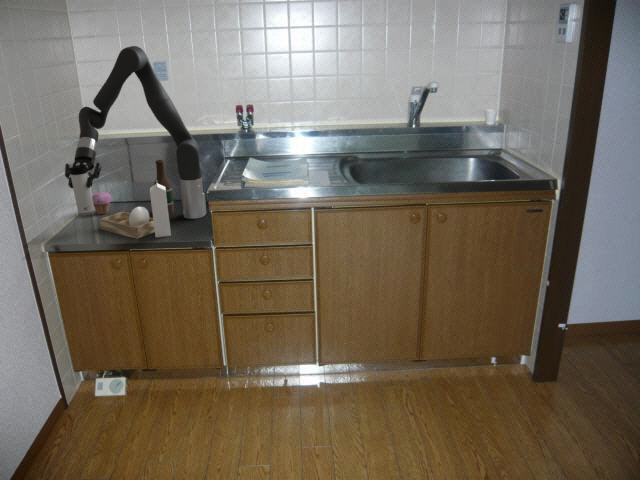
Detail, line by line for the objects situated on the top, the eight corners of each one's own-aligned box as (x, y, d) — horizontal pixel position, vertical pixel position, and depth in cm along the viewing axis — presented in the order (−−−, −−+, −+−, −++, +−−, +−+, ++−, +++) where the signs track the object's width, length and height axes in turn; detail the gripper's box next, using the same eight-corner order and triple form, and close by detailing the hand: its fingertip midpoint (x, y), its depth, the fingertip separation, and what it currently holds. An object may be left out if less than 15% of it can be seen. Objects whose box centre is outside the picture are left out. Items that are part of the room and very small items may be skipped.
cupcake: (95, 210, 251) (91, 189, 247) (114, 209, 252) (111, 188, 249) (91, 216, 243) (87, 195, 239) (111, 215, 244) (108, 193, 241)
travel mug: (89, 216, 217) (80, 166, 210) (75, 215, 218) (65, 166, 211) (98, 211, 223) (89, 163, 216) (84, 210, 224) (75, 162, 217)
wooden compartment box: (124, 221, 236) (123, 211, 235) (160, 229, 225) (158, 219, 224) (101, 229, 227) (99, 219, 225) (137, 238, 216) (135, 228, 214)
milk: (155, 237, 217) (148, 183, 209) (155, 232, 222) (148, 180, 214) (171, 235, 218) (164, 182, 211) (170, 231, 224) (164, 178, 216)
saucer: (148, 225, 226) (145, 203, 223) (150, 226, 226) (147, 204, 222) (129, 232, 219) (126, 209, 215) (132, 233, 218) (128, 210, 215)
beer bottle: (178, 211, 248) (172, 159, 240) (165, 216, 242) (158, 162, 234) (166, 208, 252) (160, 157, 244) (153, 213, 246) (146, 161, 238)
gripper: (64, 146, 218) (57, 183, 212) (100, 145, 218) (93, 181, 211) (72, 156, 225) (66, 192, 219) (107, 155, 225) (101, 191, 218)
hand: (79, 187), depth 215 cm, fingers closed on travel mug, 6 cm apart
